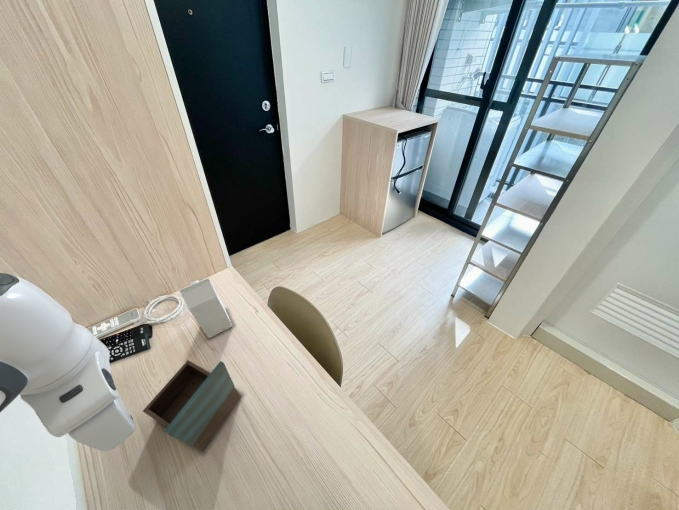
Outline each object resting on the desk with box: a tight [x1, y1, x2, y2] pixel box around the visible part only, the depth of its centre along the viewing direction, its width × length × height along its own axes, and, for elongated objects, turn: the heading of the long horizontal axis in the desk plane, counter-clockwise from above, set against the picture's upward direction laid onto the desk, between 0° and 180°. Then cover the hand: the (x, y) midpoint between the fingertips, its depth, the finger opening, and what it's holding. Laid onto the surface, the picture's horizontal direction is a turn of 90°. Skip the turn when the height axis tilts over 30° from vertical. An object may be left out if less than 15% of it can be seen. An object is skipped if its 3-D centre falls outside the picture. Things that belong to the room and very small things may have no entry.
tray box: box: [142, 359, 242, 453], centre depth 63 cm, size 15×13×7 cm
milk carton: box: [178, 277, 233, 339], centre depth 75 cm, size 7×7×19 cm
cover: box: [164, 360, 236, 447], centre depth 52 cm, size 15×13×1 cm
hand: (117, 402), depth 46 cm, fingers open, 8 cm apart
